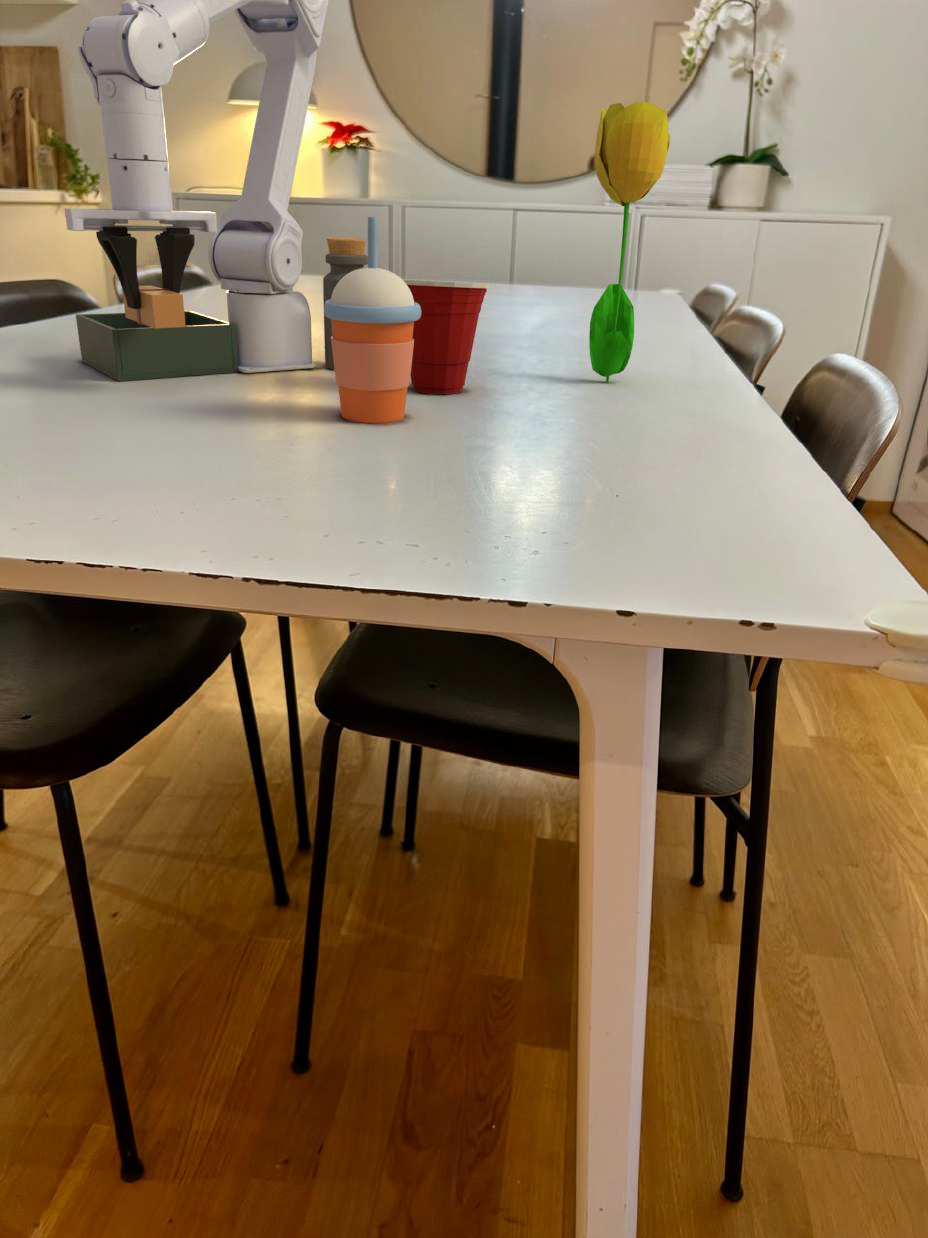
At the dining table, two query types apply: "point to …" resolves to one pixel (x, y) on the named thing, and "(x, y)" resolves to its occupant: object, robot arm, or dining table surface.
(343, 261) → the bottle
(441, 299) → the plastic cup
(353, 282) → the cup with straw
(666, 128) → the flower
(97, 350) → the bin
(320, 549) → the dining table surface
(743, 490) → the dining table surface
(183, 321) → the grooved wooden block
